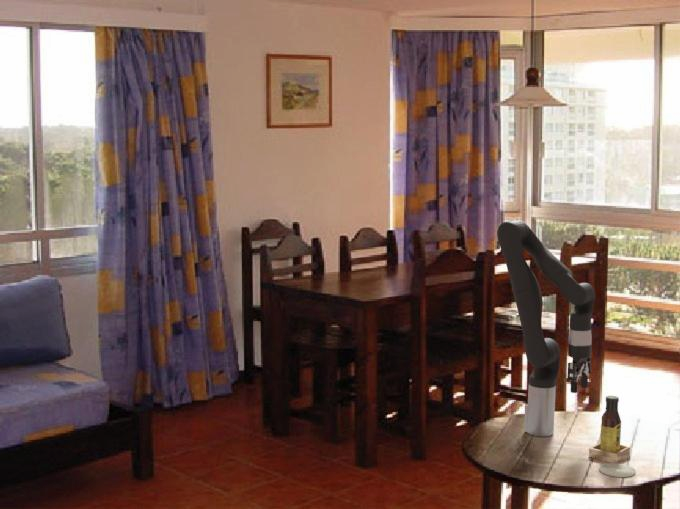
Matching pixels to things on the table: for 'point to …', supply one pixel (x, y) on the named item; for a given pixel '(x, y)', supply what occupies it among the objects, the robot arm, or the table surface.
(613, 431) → the sauce bottle
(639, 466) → the table surface
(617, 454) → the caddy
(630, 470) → the trivet
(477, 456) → the table surface
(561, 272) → the robot arm
